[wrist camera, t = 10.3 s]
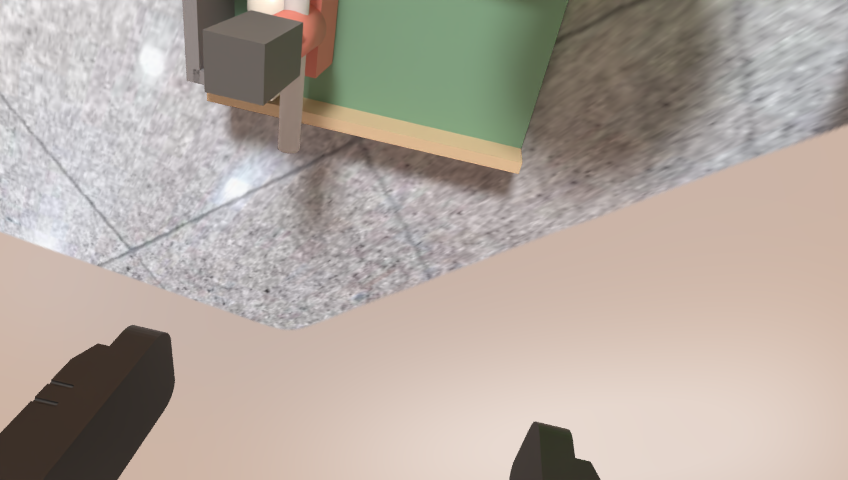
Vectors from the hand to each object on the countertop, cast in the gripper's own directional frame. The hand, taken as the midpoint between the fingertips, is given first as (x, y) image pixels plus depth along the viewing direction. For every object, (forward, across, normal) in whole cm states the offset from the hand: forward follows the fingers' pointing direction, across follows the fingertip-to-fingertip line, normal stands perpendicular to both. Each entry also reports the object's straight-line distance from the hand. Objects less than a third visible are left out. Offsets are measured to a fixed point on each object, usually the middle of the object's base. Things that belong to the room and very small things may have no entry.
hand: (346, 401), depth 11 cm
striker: (+35, +11, 0) cm, 36 cm away
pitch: (+36, +6, 0) cm, 37 cm away
